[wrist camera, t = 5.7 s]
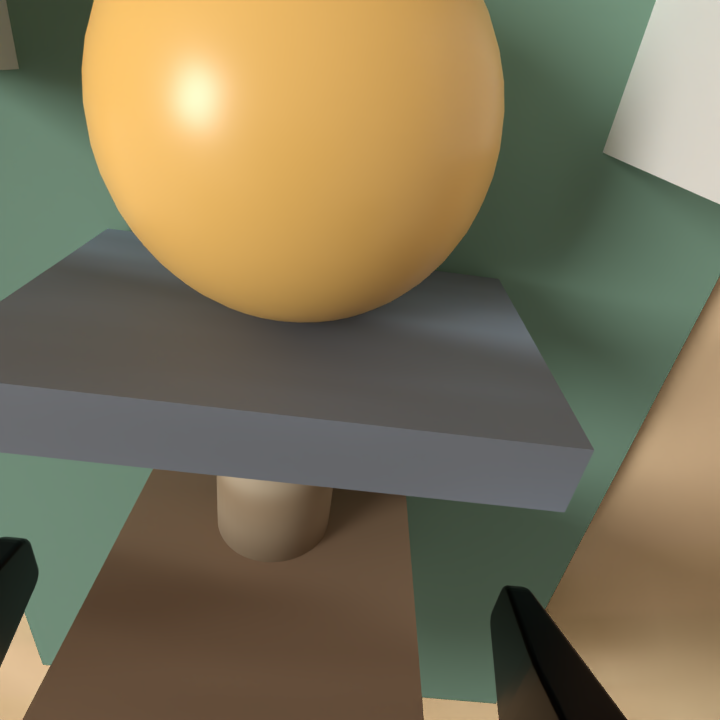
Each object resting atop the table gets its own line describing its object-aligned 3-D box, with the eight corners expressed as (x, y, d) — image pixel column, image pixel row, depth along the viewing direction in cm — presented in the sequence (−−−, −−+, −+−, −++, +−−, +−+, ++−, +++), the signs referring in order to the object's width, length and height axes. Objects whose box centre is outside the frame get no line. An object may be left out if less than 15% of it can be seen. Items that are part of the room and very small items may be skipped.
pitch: (492, 685, 15) (495, 703, 15) (52, 646, 15) (42, 664, 14) (1091, -514, 5) (1163, -573, 4) (-435, -852, 4) (-531, -961, 4)
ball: (460, 422, 5) (667, -67, 3) (72, 378, 5) (-173, -208, 2) (438, 223, 8) (524, -115, 5) (186, 189, 8) (137, -180, 5)
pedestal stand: (414, 571, 12) (460, 1119, 6) (148, 545, 11) (-97, 1094, 5) (499, 279, 8) (877, 961, 2) (108, 228, 8) (-813, 854, 2)
